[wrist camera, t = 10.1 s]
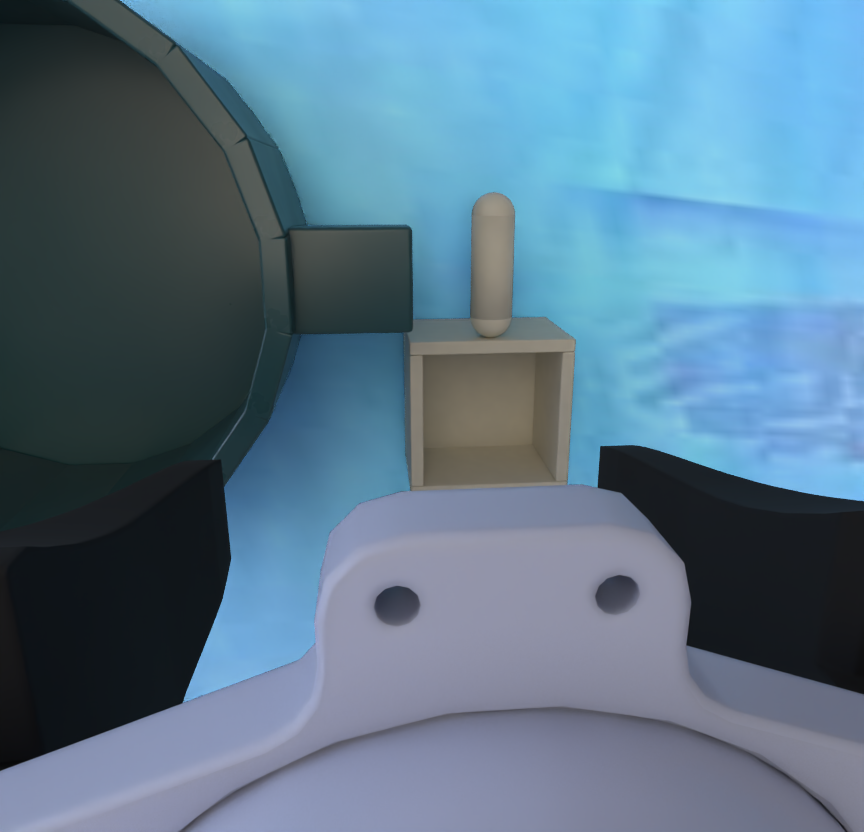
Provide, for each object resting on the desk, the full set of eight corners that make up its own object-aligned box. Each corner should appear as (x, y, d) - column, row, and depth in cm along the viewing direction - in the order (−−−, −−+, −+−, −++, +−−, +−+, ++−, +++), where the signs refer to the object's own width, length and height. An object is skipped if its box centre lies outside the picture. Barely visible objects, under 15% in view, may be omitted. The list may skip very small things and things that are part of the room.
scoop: (540, 450, 24) (567, 493, 20) (405, 455, 23) (411, 499, 20) (552, 190, 21) (585, 192, 18) (401, 191, 21) (408, 193, 18)
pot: (405, 466, 24) (417, 555, 18) (-209, 487, 22) (-405, 590, 16) (399, 8, 20) (411, -63, 14) (-352, -5, 18) (-675, -89, 12)
